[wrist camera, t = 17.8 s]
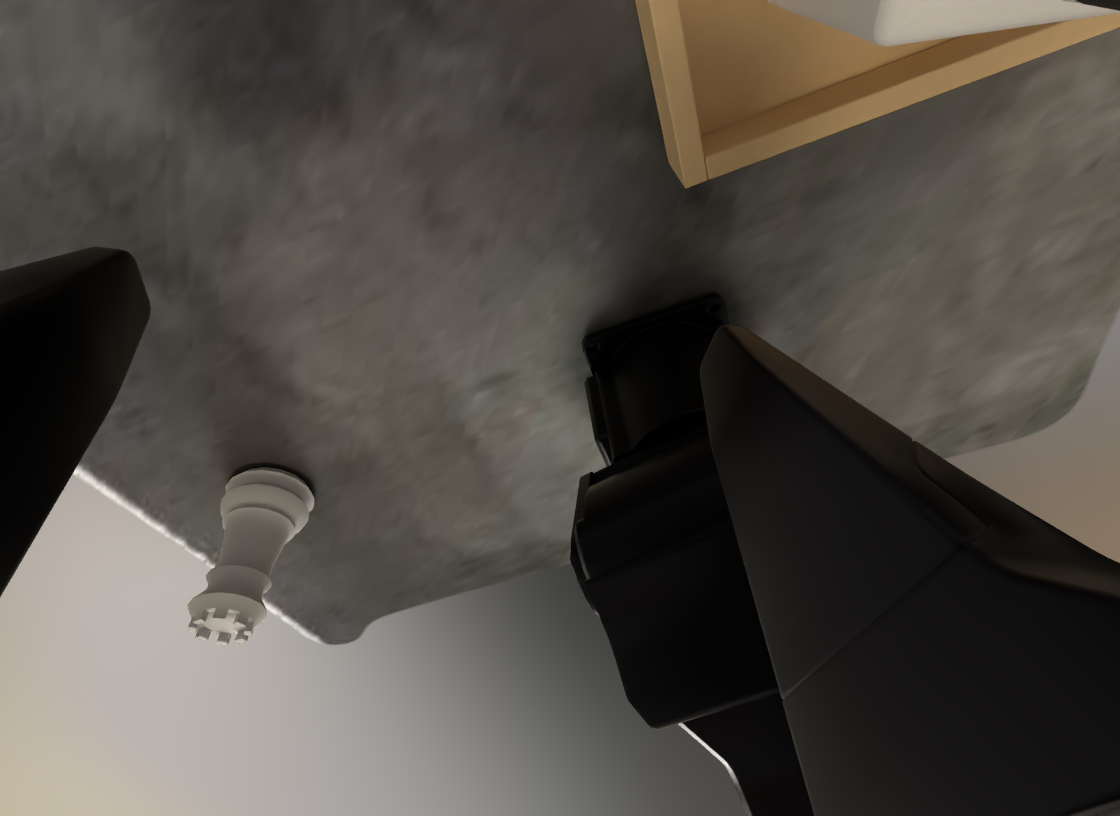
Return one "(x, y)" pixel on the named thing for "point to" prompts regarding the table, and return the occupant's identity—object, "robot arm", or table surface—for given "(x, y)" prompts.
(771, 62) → the tray
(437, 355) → the table surface
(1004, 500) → the robot arm
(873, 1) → the medicine bottle
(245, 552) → the rook chess piece
